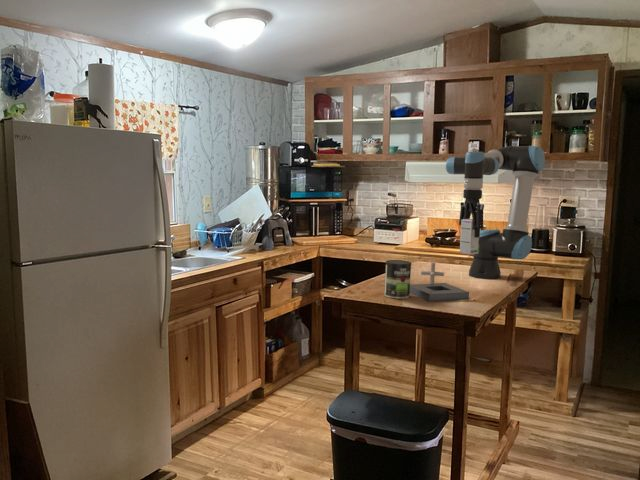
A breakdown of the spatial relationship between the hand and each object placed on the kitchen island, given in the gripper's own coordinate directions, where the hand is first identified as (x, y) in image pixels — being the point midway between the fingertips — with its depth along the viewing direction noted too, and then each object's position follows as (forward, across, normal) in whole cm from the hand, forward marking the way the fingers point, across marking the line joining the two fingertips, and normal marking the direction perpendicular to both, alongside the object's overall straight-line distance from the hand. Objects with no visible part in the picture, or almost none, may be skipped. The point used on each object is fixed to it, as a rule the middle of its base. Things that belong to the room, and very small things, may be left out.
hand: (469, 243), depth 232 cm
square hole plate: (+21, +3, -16) cm, 26 cm away
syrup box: (+4, 0, 0) cm, 4 cm away
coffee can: (+21, 0, -33) cm, 39 cm away
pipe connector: (+21, -17, -7) cm, 28 cm away
